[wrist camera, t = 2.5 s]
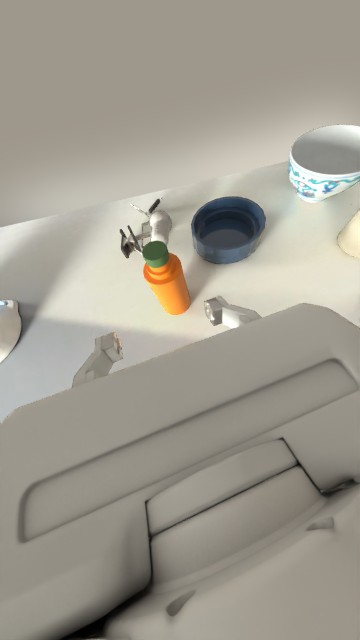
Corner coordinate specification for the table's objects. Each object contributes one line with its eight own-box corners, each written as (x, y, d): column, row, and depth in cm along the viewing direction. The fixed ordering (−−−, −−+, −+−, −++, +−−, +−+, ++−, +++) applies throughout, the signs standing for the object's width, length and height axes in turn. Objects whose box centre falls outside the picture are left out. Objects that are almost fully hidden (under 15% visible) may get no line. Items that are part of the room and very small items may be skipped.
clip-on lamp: (135, 225, 49) (125, 265, 39) (123, 200, 44) (108, 240, 34) (174, 212, 46) (175, 252, 36) (166, 185, 41) (164, 222, 31)
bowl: (187, 262, 37) (184, 247, 33) (200, 215, 42) (199, 196, 38) (255, 268, 34) (261, 252, 30) (262, 216, 38) (268, 196, 34)
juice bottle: (159, 312, 34) (126, 266, 21) (167, 288, 36) (140, 231, 22) (186, 317, 33) (169, 271, 19) (192, 292, 35) (181, 234, 21)
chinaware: (326, 162, 41) (350, 115, 34) (369, 200, 35) (410, 153, 28) (265, 184, 42) (276, 143, 34) (297, 225, 36) (319, 186, 29)
